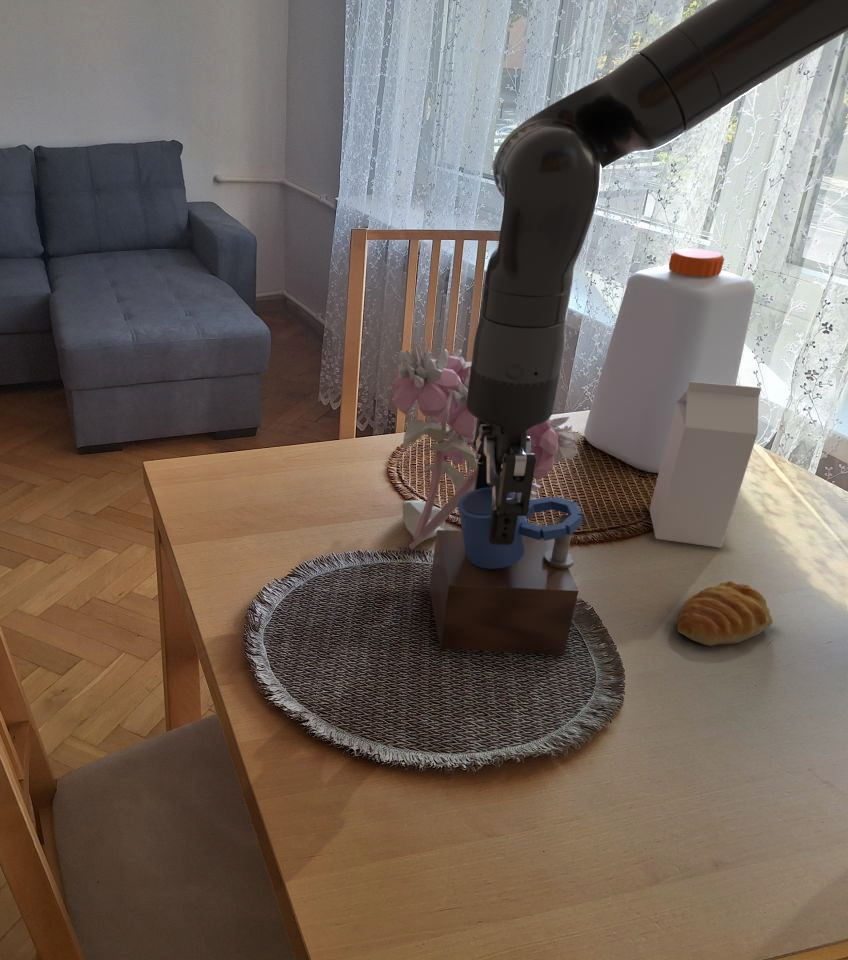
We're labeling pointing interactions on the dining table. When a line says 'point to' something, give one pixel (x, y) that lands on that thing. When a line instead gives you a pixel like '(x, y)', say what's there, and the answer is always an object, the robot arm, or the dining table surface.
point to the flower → (457, 432)
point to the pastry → (724, 615)
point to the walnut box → (503, 598)
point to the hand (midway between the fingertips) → (492, 519)
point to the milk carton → (704, 462)
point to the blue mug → (487, 555)
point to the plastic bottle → (667, 351)
